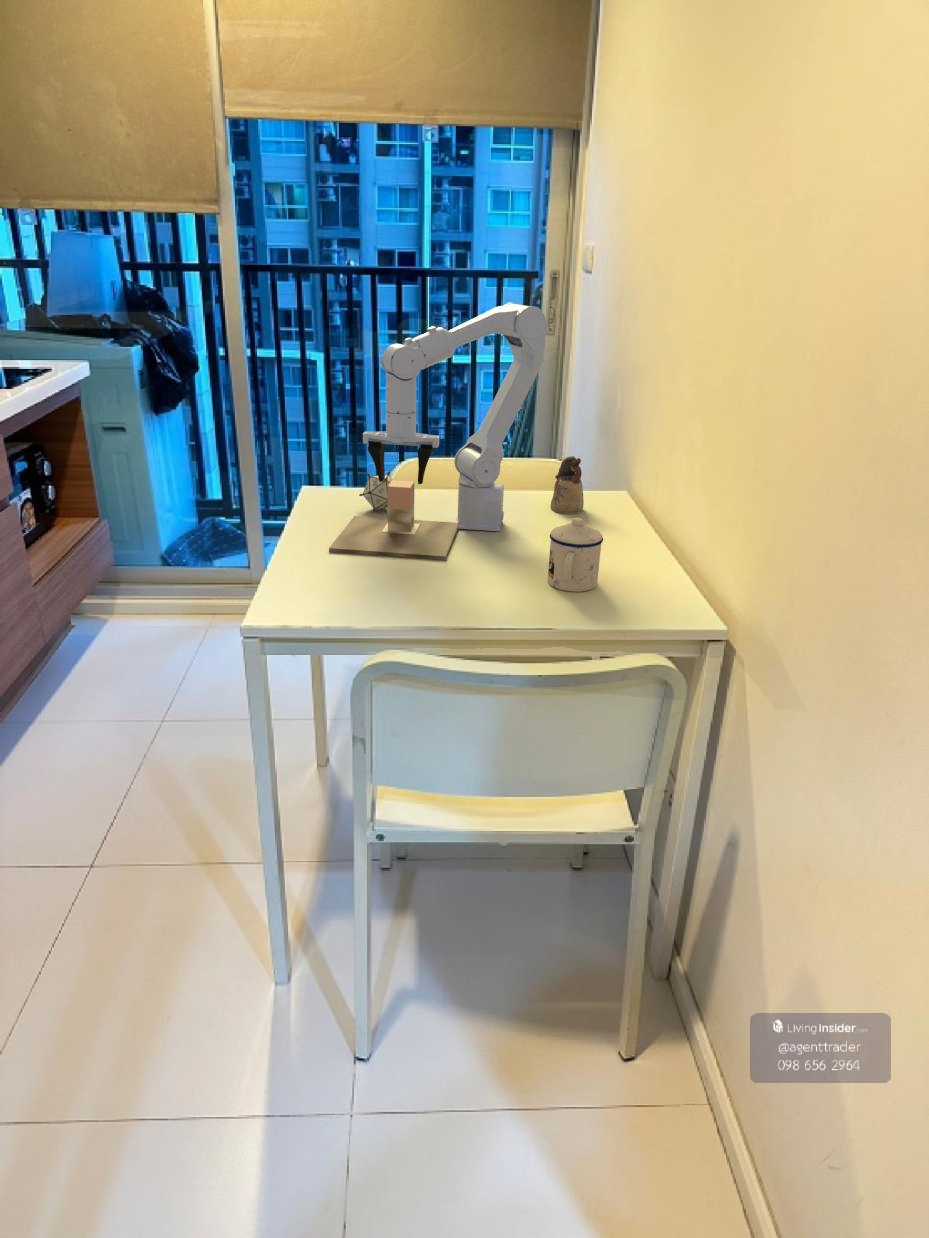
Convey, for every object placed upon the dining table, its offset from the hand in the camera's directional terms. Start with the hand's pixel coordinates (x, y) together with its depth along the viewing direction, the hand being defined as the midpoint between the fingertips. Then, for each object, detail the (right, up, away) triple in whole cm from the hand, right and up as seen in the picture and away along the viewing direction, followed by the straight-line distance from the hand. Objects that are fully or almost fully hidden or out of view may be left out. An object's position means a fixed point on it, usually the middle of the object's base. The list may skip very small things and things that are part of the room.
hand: (401, 481), depth 162 cm
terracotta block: (0, -5, +2) cm, 5 cm away
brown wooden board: (-1, -11, +1) cm, 11 cm away
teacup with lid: (+31, -21, -19) cm, 42 cm away
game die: (-6, -3, +18) cm, 19 cm away
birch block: (0, -9, +4) cm, 10 cm away
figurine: (+35, -3, +22) cm, 42 cm away
